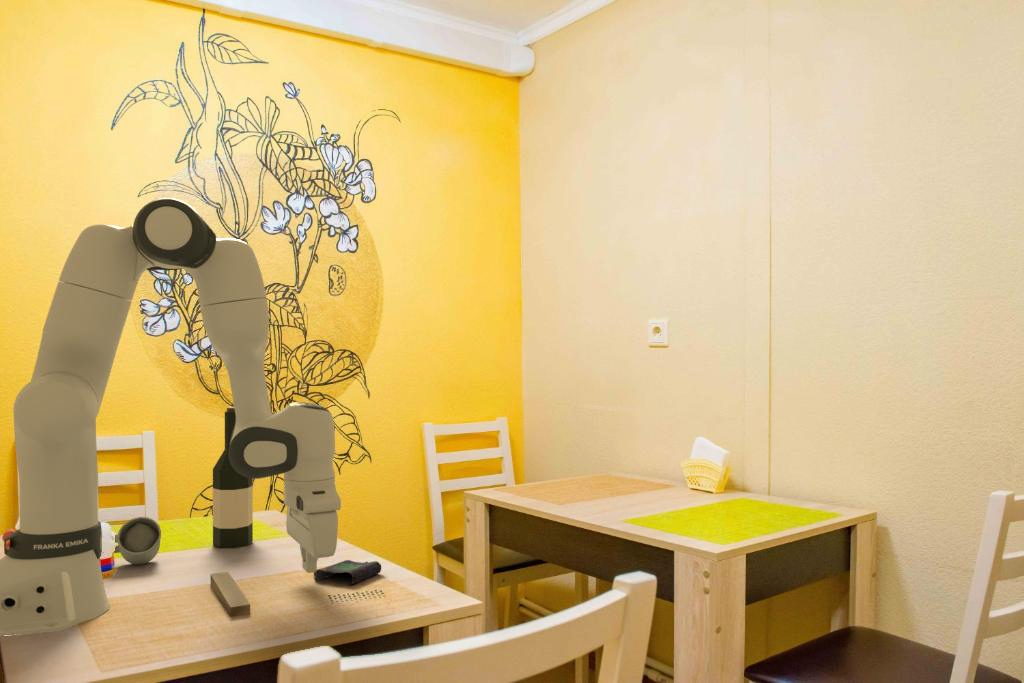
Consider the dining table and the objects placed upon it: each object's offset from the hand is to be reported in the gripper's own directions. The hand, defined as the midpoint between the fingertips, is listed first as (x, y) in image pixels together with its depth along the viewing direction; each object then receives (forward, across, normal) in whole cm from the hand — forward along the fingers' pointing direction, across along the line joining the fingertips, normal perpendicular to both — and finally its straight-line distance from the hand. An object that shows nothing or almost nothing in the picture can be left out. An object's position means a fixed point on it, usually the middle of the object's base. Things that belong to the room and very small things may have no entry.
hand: (309, 570), depth 141 cm
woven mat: (+5, +12, +5) cm, 14 cm away
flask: (+5, 0, +5) cm, 7 cm away
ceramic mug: (+4, -33, -27) cm, 43 cm away
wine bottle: (+4, -42, -6) cm, 43 cm away
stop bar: (+4, 0, -14) cm, 14 cm away
